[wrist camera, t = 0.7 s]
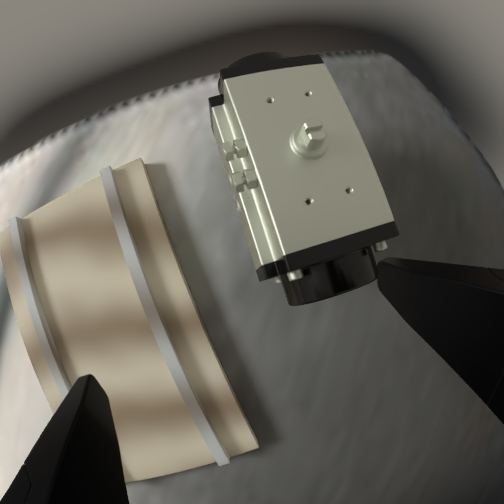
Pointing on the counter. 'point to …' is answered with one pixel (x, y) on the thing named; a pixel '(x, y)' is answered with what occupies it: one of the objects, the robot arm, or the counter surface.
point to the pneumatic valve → (299, 176)
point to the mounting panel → (122, 323)
